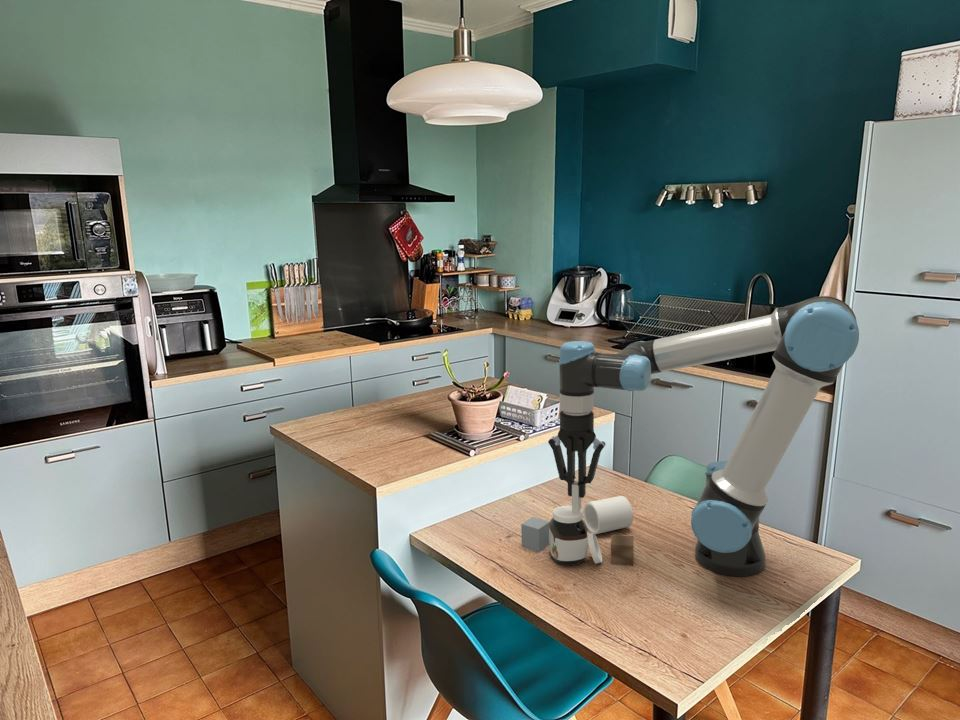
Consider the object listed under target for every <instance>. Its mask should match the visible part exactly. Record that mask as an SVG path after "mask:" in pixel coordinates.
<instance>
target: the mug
mask: <svg viewBox="0 0 960 720" xmlns="http://www.w3.org/2000/svg"><path fill="white" fill-rule="evenodd" d="M582 512H583V519H584V520H583V521H584V523H585V526H586V529H587V530H588V531H589V532H590V533H594V534H595V535H598V534H602V533H603V534H604V533H607V532H612V531H613V532H614V531H616V530H621V529H625V528H629V527H631V526H632V525H633V522H634V511H633V508H632V504H631V503H630V501H629V500H628V498H627V497H626V496H625V495H617V496H613V497H607V498H603V499H598V500H592V501H588V502H586V503H585V504H584V507H583V509H582Z"/></svg>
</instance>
